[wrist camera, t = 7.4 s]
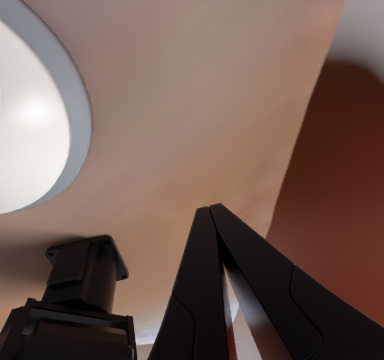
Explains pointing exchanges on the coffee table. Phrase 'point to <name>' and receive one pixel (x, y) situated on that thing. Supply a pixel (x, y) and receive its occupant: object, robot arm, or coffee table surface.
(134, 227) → the coffee table surface
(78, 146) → the base plate
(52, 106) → the dial
